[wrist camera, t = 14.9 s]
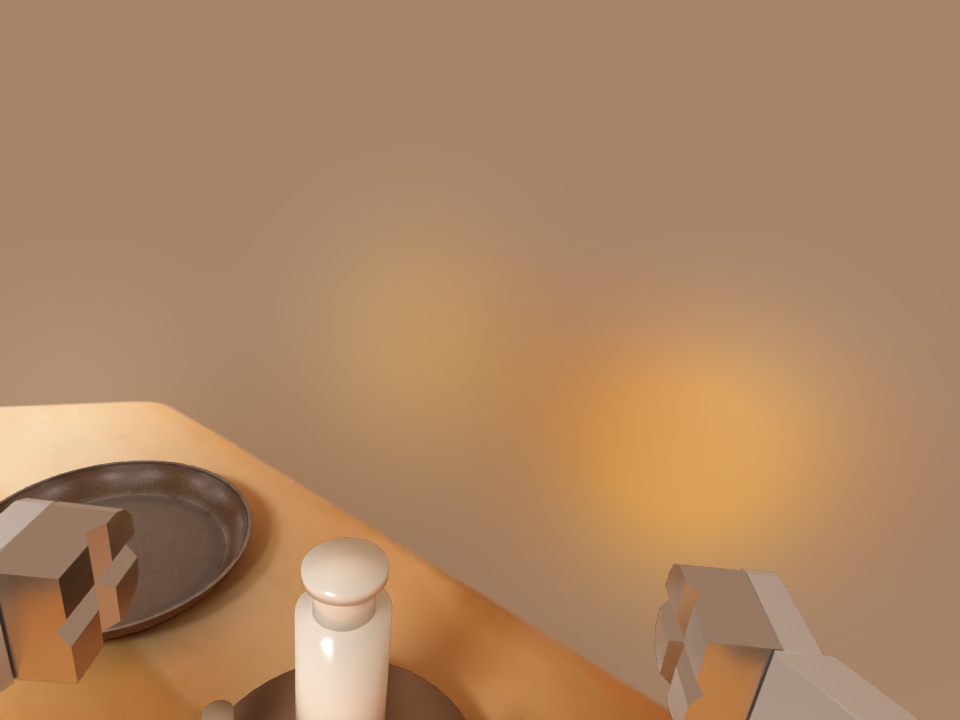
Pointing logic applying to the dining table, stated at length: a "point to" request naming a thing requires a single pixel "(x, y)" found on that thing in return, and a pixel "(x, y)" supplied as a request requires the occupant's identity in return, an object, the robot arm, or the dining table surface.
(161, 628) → the dining table surface
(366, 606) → the bud vase
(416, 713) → the pedestal
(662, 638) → the robot arm
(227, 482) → the plant saucer
